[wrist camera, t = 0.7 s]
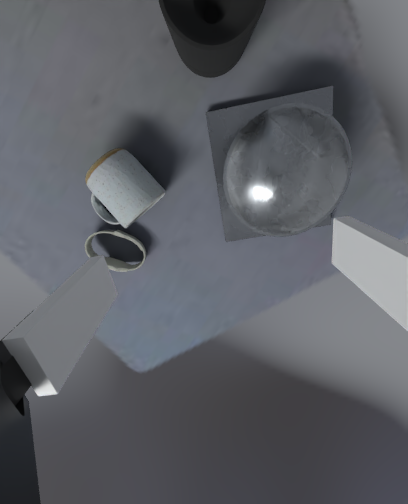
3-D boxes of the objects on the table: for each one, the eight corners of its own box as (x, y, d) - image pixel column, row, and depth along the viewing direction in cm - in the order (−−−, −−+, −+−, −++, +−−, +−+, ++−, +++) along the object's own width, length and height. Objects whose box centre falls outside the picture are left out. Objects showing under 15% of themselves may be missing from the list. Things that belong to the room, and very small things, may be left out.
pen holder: (266, 24, 28) (294, -41, 19) (218, 99, 31) (223, 75, 22) (201, -40, 26) (198, -147, 17) (157, 47, 29) (133, -4, 20)
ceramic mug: (129, 144, 33) (107, 141, 26) (170, 188, 35) (160, 198, 28) (83, 195, 36) (52, 205, 29) (124, 233, 38) (104, 251, 31)
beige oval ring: (90, 252, 40) (74, 265, 35) (97, 218, 37) (82, 227, 33) (143, 270, 41) (134, 285, 36) (153, 238, 39) (146, 249, 34)
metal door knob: (205, 113, 32) (205, 102, 25) (328, 88, 30) (362, 69, 24) (225, 239, 38) (229, 257, 32) (327, 222, 37) (353, 237, 30)
